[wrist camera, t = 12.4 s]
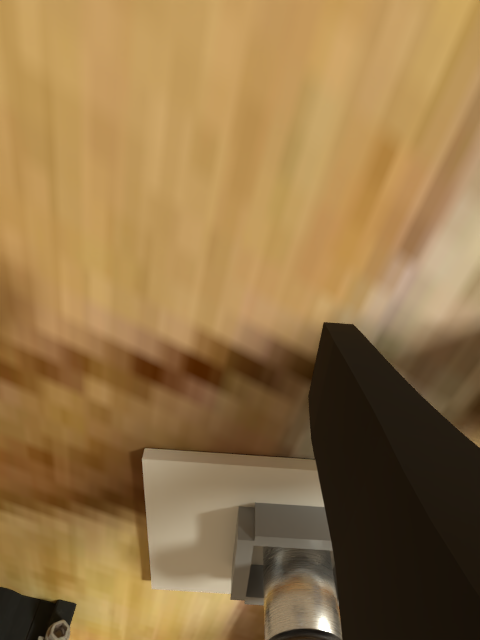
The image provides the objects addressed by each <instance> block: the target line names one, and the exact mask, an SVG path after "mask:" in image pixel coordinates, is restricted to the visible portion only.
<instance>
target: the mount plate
mask: <svg viewBox="0 0 480 640" xmlns="http://www.w3.org/2000/svg"><path fill="white" fill-rule="evenodd" d="M142 466H143V479H144V492H145V506H146V519H147V532H148V545H149V558H150V571H151V584H152V589H160V590H176V591H192V592H208V593H224V594H231V600H245V604H251V605H264V581H263V546H269V547H284V548H300V549H315V550H330V555H331V562H332V568H333V575H334V581H335V588H336V595H337V601H338V606H339V599H338V589H337V579H336V570H335V562H334V555H333V549H332V543H331V537H330V532H329V527H328V522H327V517H326V512H325V507H324V502H323V497H322V492H321V487H320V482H319V477H318V471H317V466H316V461H315V460H313V459H298V458H283V457H269V456H254V455H239V454H225V453H210V452H195V451H180V450H166V449H151V448H145V449H144V453H143V457H142Z"/></svg>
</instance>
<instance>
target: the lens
mask: <svg viewBox="0 0 480 640" xmlns="http://www.w3.org/2000/svg"><path fill="white" fill-rule="evenodd" d="M263 581H264V626H265V640H342V631H341V621H340V614H339V608H338V601H337V595H336V588H335V581H334V575H333V568H332V562H331V555H330V550H315V549H300V548H284V547H269V546H263Z"/></svg>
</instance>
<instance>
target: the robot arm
mask: <svg viewBox="0 0 480 640" xmlns="http://www.w3.org/2000/svg"><path fill="white" fill-rule="evenodd" d="M308 397H309V414H310V428H311V440H312V445H313V451H314V456H315V461H316V466H317V471H318V477H319V482H320V487H321V492H322V497H323V502H324V507H325V512H326V517H327V522H328V527H329V532H330V537H331V543H332V549H333V555H334V562H335V570H336V579H337V589H338V599H339V609H340V619H341V631H342V640H480V448H479V447H478V446H476V445H475V444H474V443H473V442H472V441H470V440H469V439H468V438H467V437H466V436H465V435H463V434H462V433H461V432H460V431H459V430H458V429H456V428H455V427H454V426H453V425H452V424H451V423H450V422H449V421H448V420H447V419H446V418H444V417H443V416H442V415H441V414H440V413H439V412H438V411H437V410H436V409H435V408H433V407H432V406H431V405H430V404H429V403H428V402H427V401H426V400H425V399H424V398H423V397H422V396H421V395H420V394H419V393H418V392H417V391H416V390H415V389H414V388H413V387H412V386H411V385H410V384H409V383H408V382H407V381H406V380H405V379H404V378H403V377H402V376H401V375H400V374H399V373H398V372H397V371H396V370H395V369H394V368H393V366H392V365H391V364H390V363H389V362H388V361H387V360H386V359H385V358H384V357H383V356H382V355H381V354H380V353H379V351H378V350H377V349H376V348H375V347H374V346H373V345H372V344H371V343H370V342H369V341H368V339H367V338H366V337H365V336H364V335H363V334H362V333H361V332H360V331H359V330H358V329H357V328H356V327H355V326H354V325H353V324H340V323H326V322H324V324H323V329H322V333H321V338H320V343H319V348H318V353H317V358H316V362H315V367H314V372H313V377H312V382H311V386H310V391H309V396H308Z"/></svg>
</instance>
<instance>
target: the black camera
mask: <svg viewBox="0 0 480 640" xmlns="http://www.w3.org/2000/svg"><path fill="white" fill-rule="evenodd" d="M75 608H76V604H75V603H71V602H67V601H62V600H57V602H56V604H54V603H51V602H48V601H44V600H40V599H35V598H31V597H27V596H23V595H20V594H19V593H17V592H15V591H12V590H9V589H6V588H2V587H0V640H68V639H69V637H70V624H71V621H72V617H73V614H74V611H75Z"/></svg>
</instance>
